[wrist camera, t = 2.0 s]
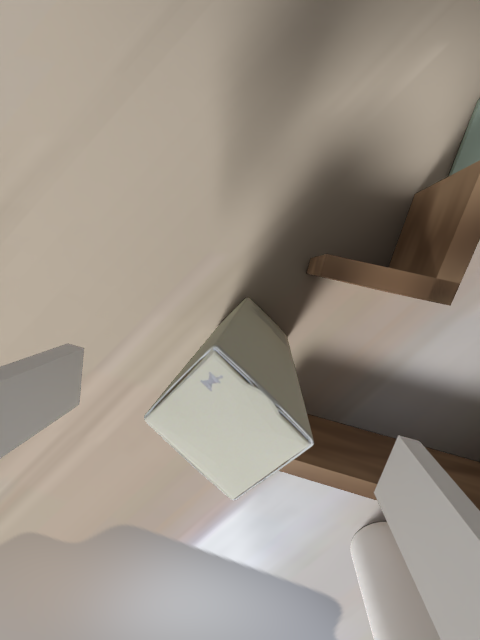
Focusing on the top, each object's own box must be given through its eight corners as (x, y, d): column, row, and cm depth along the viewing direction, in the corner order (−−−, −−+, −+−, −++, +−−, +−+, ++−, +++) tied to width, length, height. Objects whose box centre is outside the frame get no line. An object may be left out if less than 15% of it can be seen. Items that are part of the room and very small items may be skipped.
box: (214, 329, 21) (130, 415, 9) (249, 294, 20) (208, 337, 8) (256, 371, 22) (231, 510, 9) (292, 338, 21) (321, 447, 8)
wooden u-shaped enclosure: (333, 178, 18) (362, 134, 12) (638, 237, 16) (848, 220, 10) (266, 414, 22) (263, 465, 17) (496, 479, 21) (582, 562, 15)
